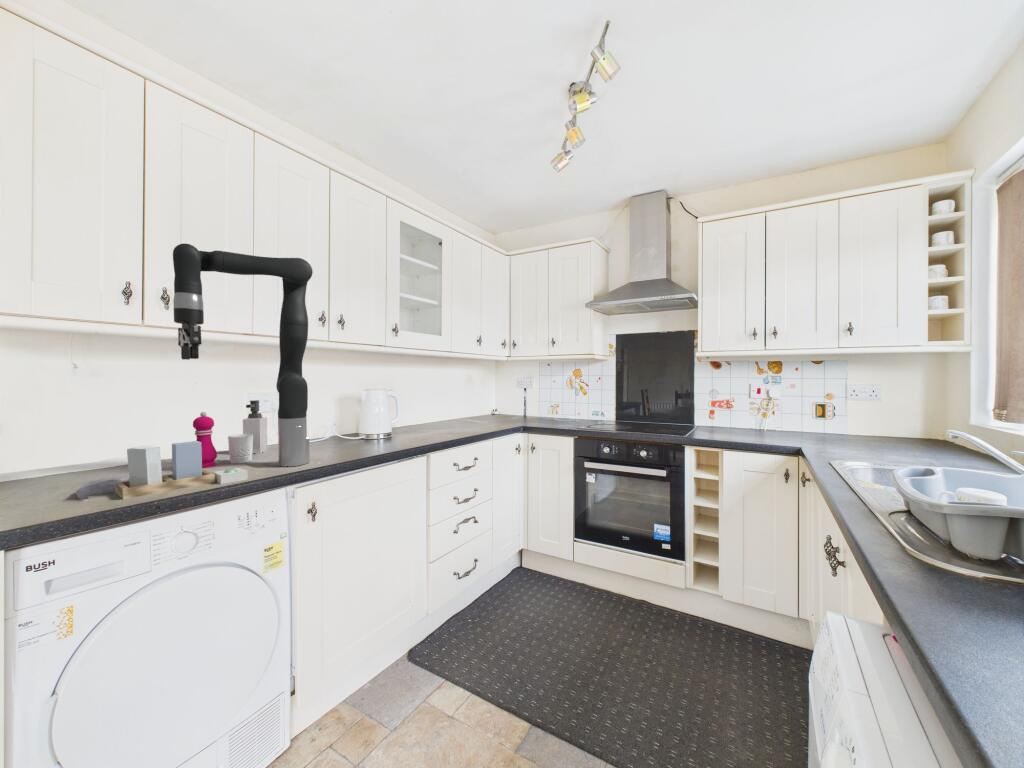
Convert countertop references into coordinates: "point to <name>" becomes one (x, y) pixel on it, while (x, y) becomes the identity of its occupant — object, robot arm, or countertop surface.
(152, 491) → the pallet
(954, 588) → the countertop surface
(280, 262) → the robot arm
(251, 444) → the white cup
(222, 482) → the button box
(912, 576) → the countertop surface
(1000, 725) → the countertop surface
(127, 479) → the stone block
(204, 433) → the pepper mill
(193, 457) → the seated block
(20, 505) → the countertop surface
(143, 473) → the skincare box
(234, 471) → the button
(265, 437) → the soap dispenser
